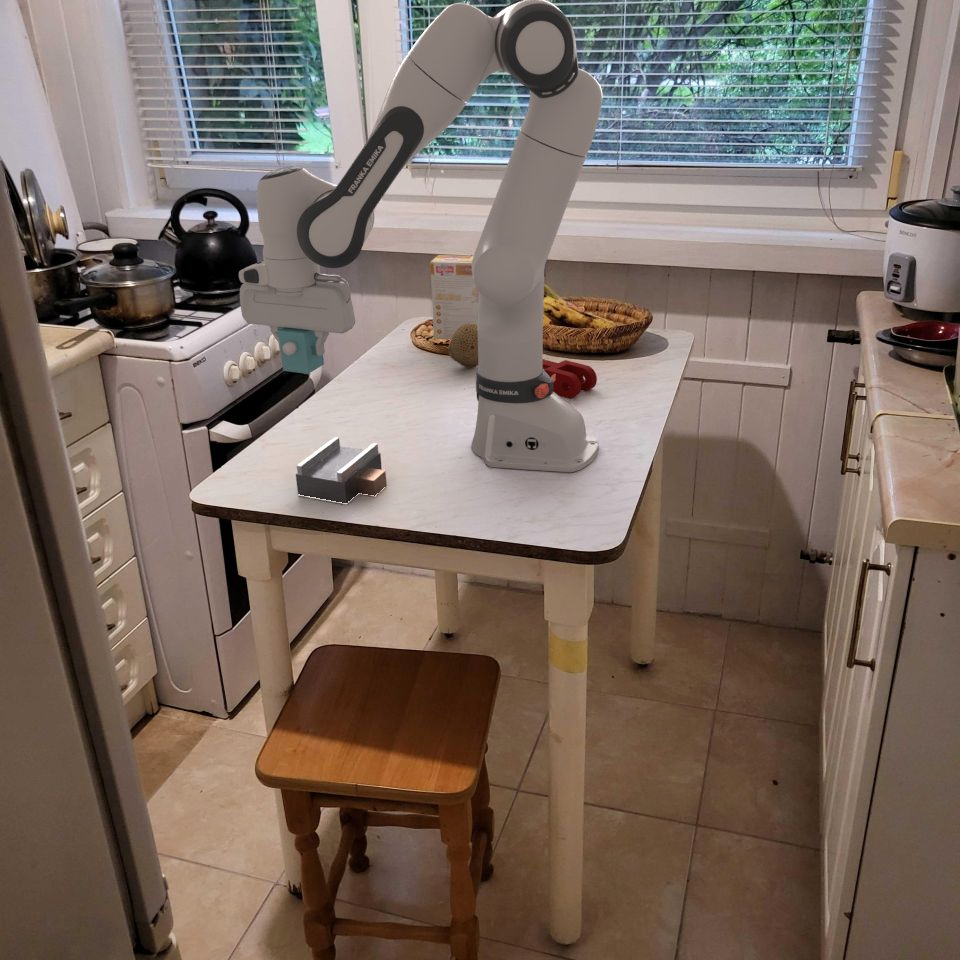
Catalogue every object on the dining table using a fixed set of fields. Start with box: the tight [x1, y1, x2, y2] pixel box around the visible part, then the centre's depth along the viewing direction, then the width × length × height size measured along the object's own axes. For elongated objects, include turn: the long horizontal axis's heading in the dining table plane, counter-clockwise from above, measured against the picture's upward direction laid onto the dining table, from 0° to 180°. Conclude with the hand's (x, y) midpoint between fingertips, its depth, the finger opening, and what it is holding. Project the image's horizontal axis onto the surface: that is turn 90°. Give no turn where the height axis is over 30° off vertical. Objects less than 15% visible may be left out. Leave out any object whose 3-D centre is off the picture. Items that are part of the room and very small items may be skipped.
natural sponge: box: [447, 323, 478, 369], centre depth 209 cm, size 9×9×10 cm
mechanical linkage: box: [543, 358, 598, 400], centre depth 199 cm, size 16×7×5 cm, turn 49°
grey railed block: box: [295, 436, 388, 504], centre depth 160 cm, size 12×12×6 cm
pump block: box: [278, 327, 325, 375], centre depth 164 cm, size 5×6×7 cm
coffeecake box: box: [429, 254, 479, 340], centre depth 223 cm, size 15×7×20 cm, turn 77°
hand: (302, 352), depth 165 cm, fingers closed on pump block, 5 cm apart
